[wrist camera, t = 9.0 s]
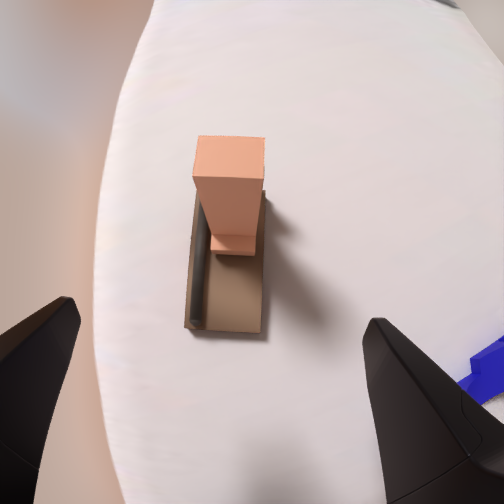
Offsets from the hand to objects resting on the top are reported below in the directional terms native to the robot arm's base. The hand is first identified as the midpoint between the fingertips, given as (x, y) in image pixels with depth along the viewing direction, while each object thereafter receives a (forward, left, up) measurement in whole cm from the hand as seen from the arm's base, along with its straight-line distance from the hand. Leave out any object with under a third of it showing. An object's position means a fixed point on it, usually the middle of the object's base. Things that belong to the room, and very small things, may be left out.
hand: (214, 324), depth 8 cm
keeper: (+7, 0, -11) cm, 13 cm away
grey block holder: (+4, +1, -12) cm, 13 cm away
